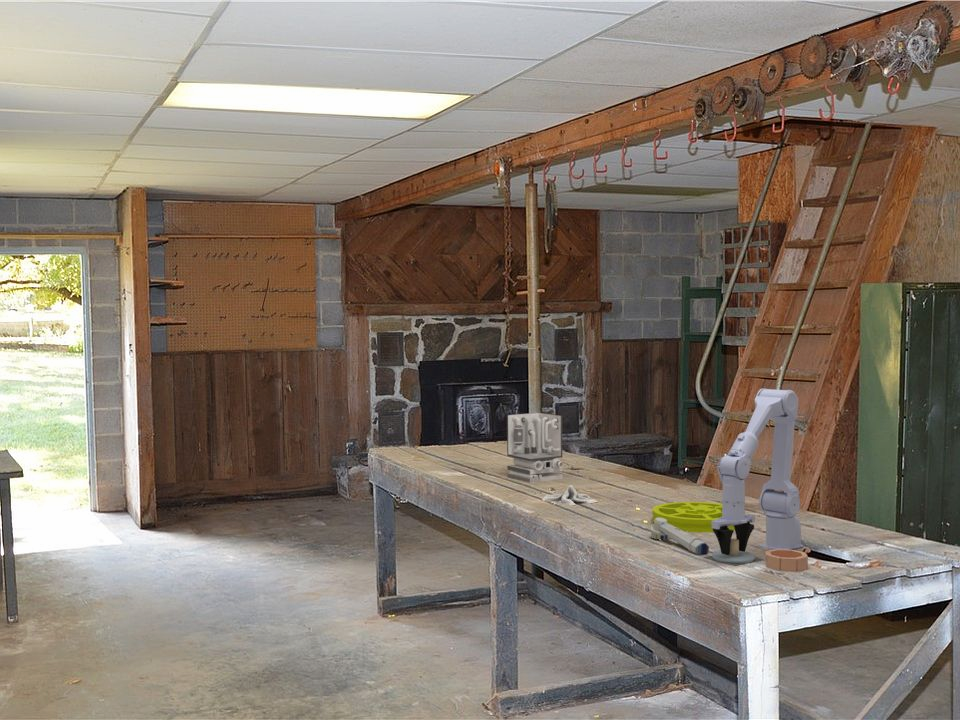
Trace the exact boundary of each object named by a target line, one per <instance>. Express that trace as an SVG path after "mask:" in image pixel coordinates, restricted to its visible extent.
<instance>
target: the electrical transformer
mask: <svg viewBox="0 0 960 720" xmlns="http://www.w3.org/2000/svg"><path fill="white" fill-rule="evenodd" d="M506 438H507V439H506V443H507V444H506V446H507V447H506V448H507V449H506V453H507V454H506V457H510V458H513V459H512V463H513V464H509V465H507V470H509V472H508V473H507V478H508V479H514V480H517V481H522V482H525V483H529V484H530V483H539V482H547V481H555V480H556V481H557V480H563V474H560V473H555V472H563V462H562V461H561V460H560V458H563V415H558V414H551V413H545V412H533V413H532V412H531V413H530V412H529V413H518V414H516V413H515V414H507V415H506Z"/></svg>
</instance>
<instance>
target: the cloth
mask: <svg viewBox="0 0 960 720" xmlns="http://www.w3.org/2000/svg"><path fill="white" fill-rule="evenodd" d="M589 498H591V496H590V495H588V494H586V493H578V492H577V491H576V489H575V488H574V486H573V485H572V484H570V485H568V486H567V488H566V490H565V491H563V492H562V493H560V494H559V493H554V494H547V495H545V496H543V497H542V499H541V501H542V500H543V501H542V502H550V503H551V504H552V503H554V504H553V505H555V504H556V503H557V502H559V501H561V503H562V504H569V505H576V506H577V503H574V502H579V503H578V504H582V503H594V502H598V500H596V499H594V498H591V499H589ZM545 500H547V501H545ZM549 500H550V501H549ZM562 504H561V505H562ZM594 504H595V503H594Z"/></svg>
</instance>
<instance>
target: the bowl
mask: <svg viewBox="0 0 960 720" xmlns="http://www.w3.org/2000/svg"><path fill="white" fill-rule="evenodd" d="M764 554H765V555H764V563H765V567H766V568H767V569H771V570H774V571H778V572H779V571H780V572H800V571H805V570H808V569H809V568H808V566H809V565H808V562H809V561H808V560H809V559H808V558H809V557H808V554H807V552H804V551H801V550H800V551H799V550H795V549H769V550H765V551H764Z"/></svg>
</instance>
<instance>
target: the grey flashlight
mask: <svg viewBox="0 0 960 720" xmlns="http://www.w3.org/2000/svg"><path fill="white" fill-rule="evenodd" d="M650 532H651V534H650V537H651V539H652V538H654V539H656V540H657V539H661V540H666V539H668V540H669V538H671V539H672V540H673V541H675V542H677V543H678V544H679V545H681V546H683V548H685V549H686V550H688V551H689V552H690V553H693V554H695V555H697V556H701V555H702V556H703V555H708V554H709V551H710V550H709V549H710V547H709V546H708V544H707V543H706V542H704V541H703V540H702V538H700V537H695V536H694V535H692V534H691V533H689V532H685V531H682V530H680V529H678V528H676V527H674V526H672V525H670V524H668V523H667V520H666V519H664V518H660V517H658V518H655V520H654V523H653V525H652V526H650ZM654 539H653V540H654ZM666 541H667V540H666Z"/></svg>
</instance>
